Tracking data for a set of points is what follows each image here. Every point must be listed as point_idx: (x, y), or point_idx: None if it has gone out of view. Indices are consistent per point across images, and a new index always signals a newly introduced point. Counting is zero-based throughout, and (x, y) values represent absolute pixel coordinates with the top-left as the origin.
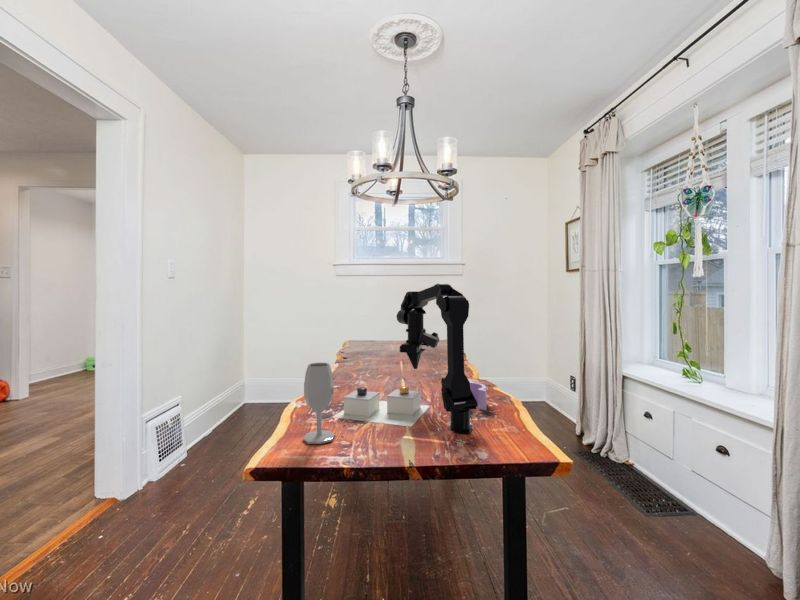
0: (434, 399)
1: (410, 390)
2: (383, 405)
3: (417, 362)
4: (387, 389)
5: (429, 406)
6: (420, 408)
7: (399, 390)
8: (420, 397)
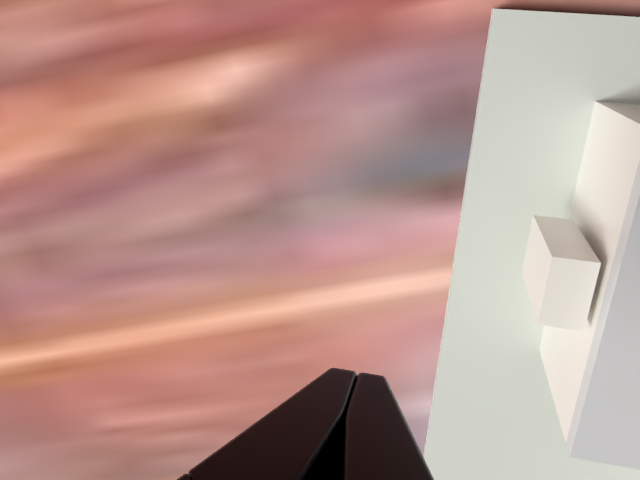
0: (191, 21)
1: (619, 283)
2: (563, 450)
3: (419, 473)
4: (57, 474)
5: (521, 10)
6: (620, 97)
7: (637, 415)
8: (633, 118)
